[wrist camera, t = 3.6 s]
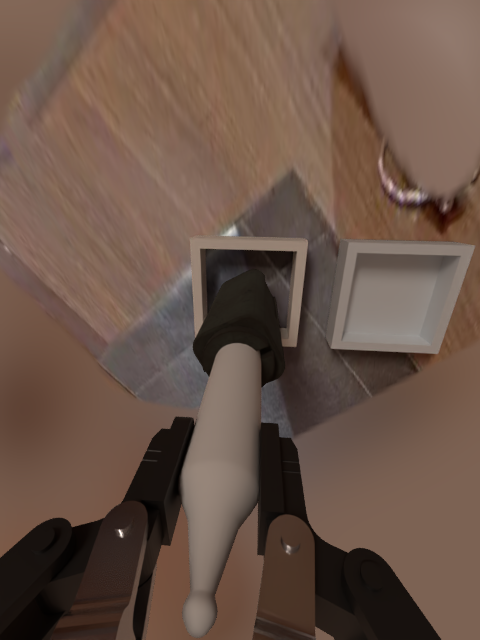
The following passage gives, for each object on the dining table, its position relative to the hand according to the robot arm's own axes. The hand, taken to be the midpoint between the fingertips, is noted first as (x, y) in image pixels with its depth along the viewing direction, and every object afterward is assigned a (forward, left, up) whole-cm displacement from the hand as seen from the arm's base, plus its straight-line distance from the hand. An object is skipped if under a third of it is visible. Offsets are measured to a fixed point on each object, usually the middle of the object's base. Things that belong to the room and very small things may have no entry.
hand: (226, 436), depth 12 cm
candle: (0, 0, -19) cm, 19 cm away
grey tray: (0, +16, -23) cm, 28 cm away
